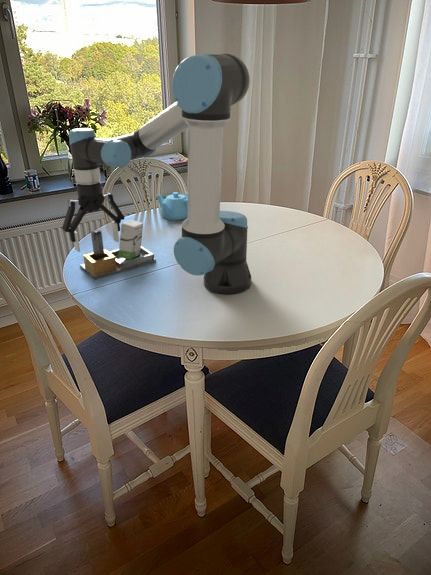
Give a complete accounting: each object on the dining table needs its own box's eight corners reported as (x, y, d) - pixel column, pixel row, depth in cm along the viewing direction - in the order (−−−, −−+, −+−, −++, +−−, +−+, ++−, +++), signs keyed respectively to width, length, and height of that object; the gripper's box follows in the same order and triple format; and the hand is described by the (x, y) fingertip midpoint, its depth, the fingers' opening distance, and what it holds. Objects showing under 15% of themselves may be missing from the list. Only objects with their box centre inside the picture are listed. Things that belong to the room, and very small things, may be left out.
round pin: (107, 266, 150) (103, 231, 146) (97, 268, 149) (93, 233, 144) (103, 263, 153) (98, 229, 149) (93, 266, 151) (89, 231, 147)
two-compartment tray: (156, 261, 156) (155, 248, 154) (94, 279, 144) (92, 265, 142) (140, 251, 165) (138, 238, 163) (80, 267, 153) (78, 253, 151)
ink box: (130, 260, 152) (134, 226, 148) (117, 256, 153) (120, 223, 149) (140, 254, 160) (144, 222, 156) (127, 251, 161) (131, 219, 157)
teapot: (161, 223, 192) (159, 198, 187) (157, 212, 205) (156, 189, 199) (196, 220, 194) (195, 196, 189) (190, 209, 207) (189, 187, 202)
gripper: (120, 173, 146) (126, 233, 156) (43, 185, 133) (56, 250, 143) (130, 177, 141) (136, 240, 151) (52, 191, 128) (64, 258, 138)
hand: (97, 245), depth 147 cm, fingers open, 13 cm apart
